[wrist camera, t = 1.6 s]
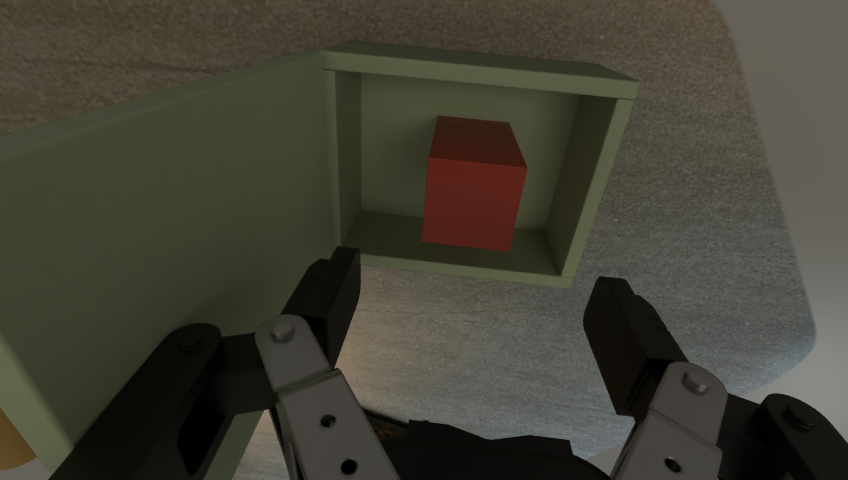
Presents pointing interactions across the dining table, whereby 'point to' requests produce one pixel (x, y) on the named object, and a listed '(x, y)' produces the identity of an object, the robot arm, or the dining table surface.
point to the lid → (152, 241)
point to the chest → (475, 99)
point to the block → (473, 184)
